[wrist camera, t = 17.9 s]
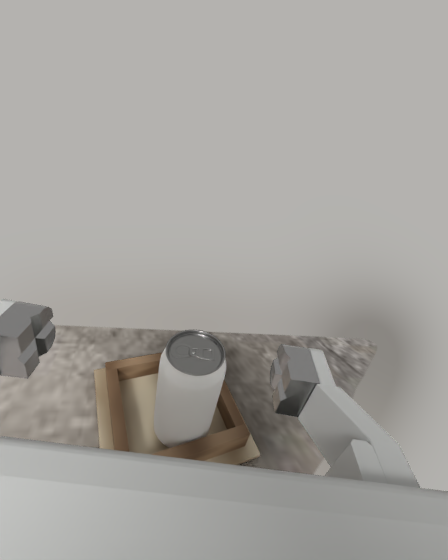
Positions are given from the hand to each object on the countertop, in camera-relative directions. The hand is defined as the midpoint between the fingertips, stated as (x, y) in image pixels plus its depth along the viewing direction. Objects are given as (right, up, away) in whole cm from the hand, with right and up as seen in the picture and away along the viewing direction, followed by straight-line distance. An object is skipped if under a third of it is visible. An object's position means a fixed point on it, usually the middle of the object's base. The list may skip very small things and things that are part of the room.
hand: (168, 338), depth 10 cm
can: (-3, -15, +23) cm, 27 cm away
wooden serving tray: (-4, -14, +24) cm, 28 cm away
